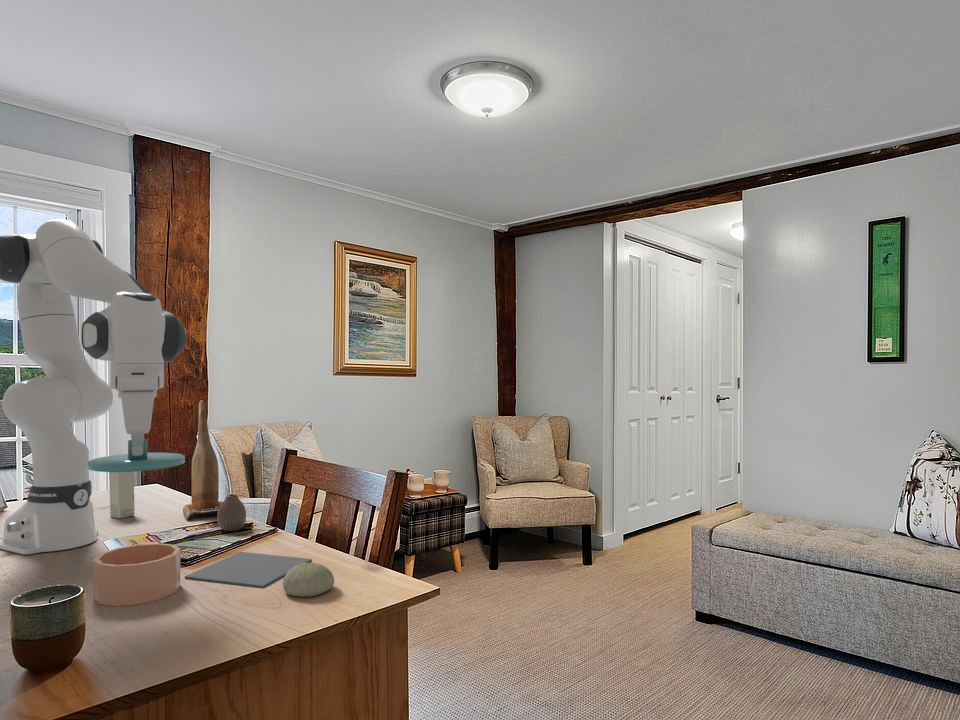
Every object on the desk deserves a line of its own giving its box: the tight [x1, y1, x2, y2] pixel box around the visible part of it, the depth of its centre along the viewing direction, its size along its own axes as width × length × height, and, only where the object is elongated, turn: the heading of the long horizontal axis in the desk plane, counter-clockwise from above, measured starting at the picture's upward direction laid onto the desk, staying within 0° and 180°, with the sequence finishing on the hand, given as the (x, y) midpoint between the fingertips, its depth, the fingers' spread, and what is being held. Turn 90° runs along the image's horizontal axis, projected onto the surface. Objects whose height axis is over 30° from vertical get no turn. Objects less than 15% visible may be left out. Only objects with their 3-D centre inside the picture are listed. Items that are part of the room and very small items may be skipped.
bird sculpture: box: [182, 399, 223, 521], centre depth 181 cm, size 11×12×32 cm
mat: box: [184, 551, 312, 589], centre depth 134 cm, size 18×17×1 cm
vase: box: [216, 493, 247, 532], centre depth 165 cm, size 7×7×9 cm
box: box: [108, 471, 136, 519], centre depth 179 cm, size 5×4×13 cm
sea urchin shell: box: [282, 561, 335, 598], centre depth 122 cm, size 9×8×8 cm
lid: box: [88, 438, 186, 473], centre depth 121 cm, size 16×16×4 cm
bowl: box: [93, 542, 181, 607], centre depth 122 cm, size 14×14×7 cm
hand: (137, 453), depth 121 cm, fingers closed on lid, 3 cm apart
